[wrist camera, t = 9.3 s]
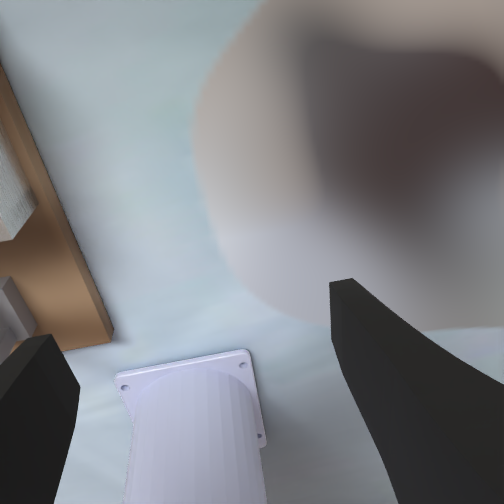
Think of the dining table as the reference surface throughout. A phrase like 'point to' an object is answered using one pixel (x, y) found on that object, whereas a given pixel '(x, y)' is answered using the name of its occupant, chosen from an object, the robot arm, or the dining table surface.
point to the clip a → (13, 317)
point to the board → (49, 252)
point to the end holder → (13, 190)
